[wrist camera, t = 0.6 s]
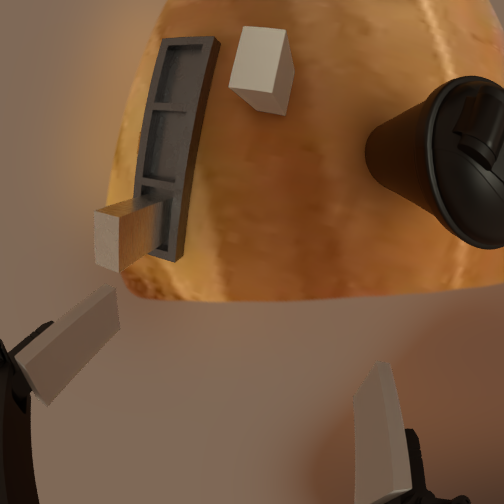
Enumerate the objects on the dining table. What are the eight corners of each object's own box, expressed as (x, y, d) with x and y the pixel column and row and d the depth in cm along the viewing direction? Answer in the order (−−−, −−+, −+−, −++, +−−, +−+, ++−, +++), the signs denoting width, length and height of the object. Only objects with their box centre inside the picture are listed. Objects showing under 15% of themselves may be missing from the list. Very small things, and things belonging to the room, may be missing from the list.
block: (266, 67, 27) (243, 26, 16) (294, 71, 27) (285, 30, 16) (256, 110, 29) (228, 87, 18) (285, 115, 29) (272, 92, 18)
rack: (169, 44, 28) (115, 13, 16) (220, 43, 27) (179, 0, 15) (138, 242, 39) (83, 276, 27) (183, 255, 38) (134, 297, 26)
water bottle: (409, 212, 29) (527, 302, 8) (343, 168, 30) (416, 192, 8) (444, 147, 26) (583, 159, 4) (380, 99, 26) (484, 23, 4)
